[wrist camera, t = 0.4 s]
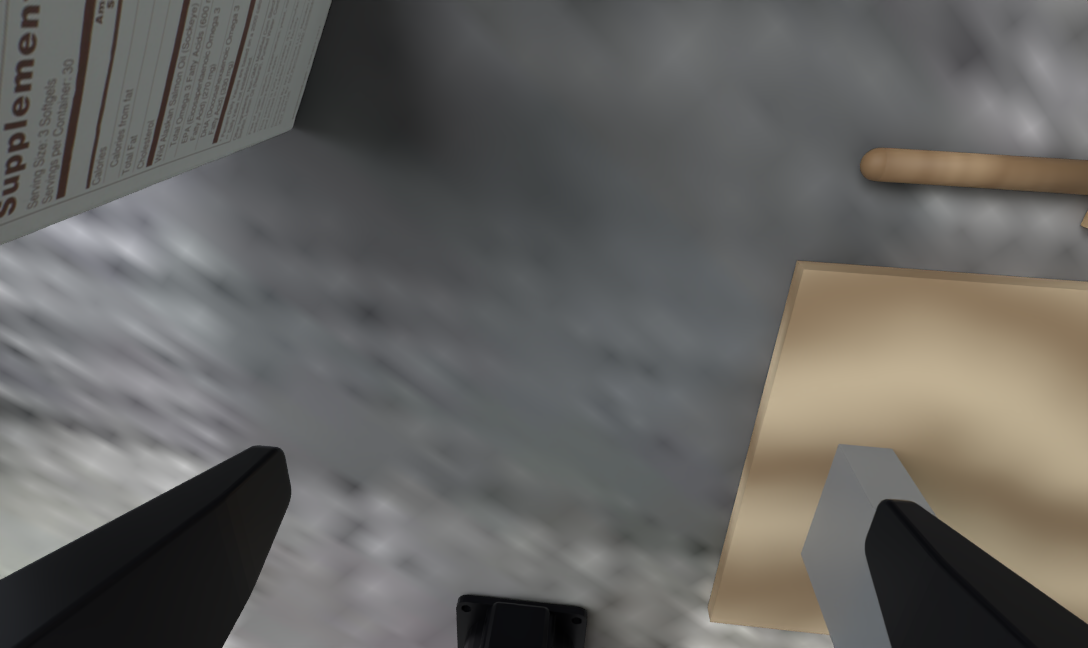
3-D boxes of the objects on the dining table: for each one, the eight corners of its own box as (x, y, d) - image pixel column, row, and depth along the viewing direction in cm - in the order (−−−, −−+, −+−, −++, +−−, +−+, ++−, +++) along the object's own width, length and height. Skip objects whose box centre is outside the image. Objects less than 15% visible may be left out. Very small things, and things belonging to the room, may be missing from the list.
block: (851, 559, 26) (929, 732, 20) (800, 553, 26) (861, 724, 20) (896, 448, 23) (1003, 610, 17) (838, 443, 23) (924, 602, 17)
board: (1052, 644, 28) (1064, 660, 27) (707, 607, 29) (710, 621, 28) (1292, 296, 20) (1318, 307, 19) (797, 260, 21) (803, 269, 20)
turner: (1246, 236, 19) (1276, 247, 18) (841, 208, 20) (852, 218, 19) (1310, 131, 18) (1347, 138, 17) (870, 106, 18) (884, 111, 17)
